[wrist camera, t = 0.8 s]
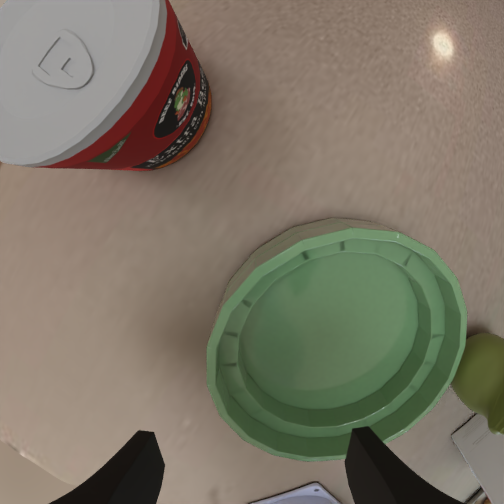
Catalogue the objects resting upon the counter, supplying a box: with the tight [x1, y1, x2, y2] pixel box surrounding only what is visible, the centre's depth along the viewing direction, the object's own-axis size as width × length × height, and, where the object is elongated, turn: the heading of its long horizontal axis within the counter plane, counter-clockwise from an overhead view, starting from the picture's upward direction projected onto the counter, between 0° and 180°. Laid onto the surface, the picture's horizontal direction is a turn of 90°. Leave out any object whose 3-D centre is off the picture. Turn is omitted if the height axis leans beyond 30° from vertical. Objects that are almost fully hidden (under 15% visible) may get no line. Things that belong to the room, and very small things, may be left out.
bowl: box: [206, 218, 467, 462], centre depth 17 cm, size 15×15×4 cm
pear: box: [451, 333, 504, 435], centre depth 15 cm, size 6×5×10 cm
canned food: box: [0, 0, 211, 171], centre depth 11 cm, size 8×8×11 cm
